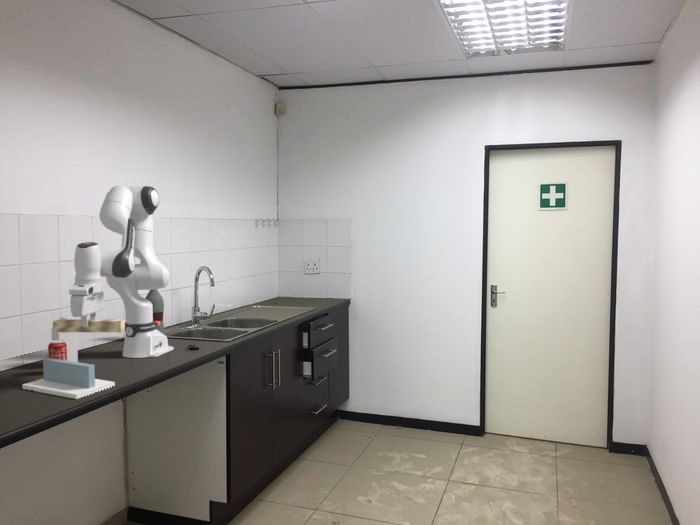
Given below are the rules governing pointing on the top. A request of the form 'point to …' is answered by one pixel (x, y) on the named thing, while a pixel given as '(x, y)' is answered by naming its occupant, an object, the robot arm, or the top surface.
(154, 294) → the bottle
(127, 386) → the top surface
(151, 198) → the robot arm
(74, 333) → the milk carton
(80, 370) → the ridge stand
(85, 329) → the maple bar
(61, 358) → the beverage can
